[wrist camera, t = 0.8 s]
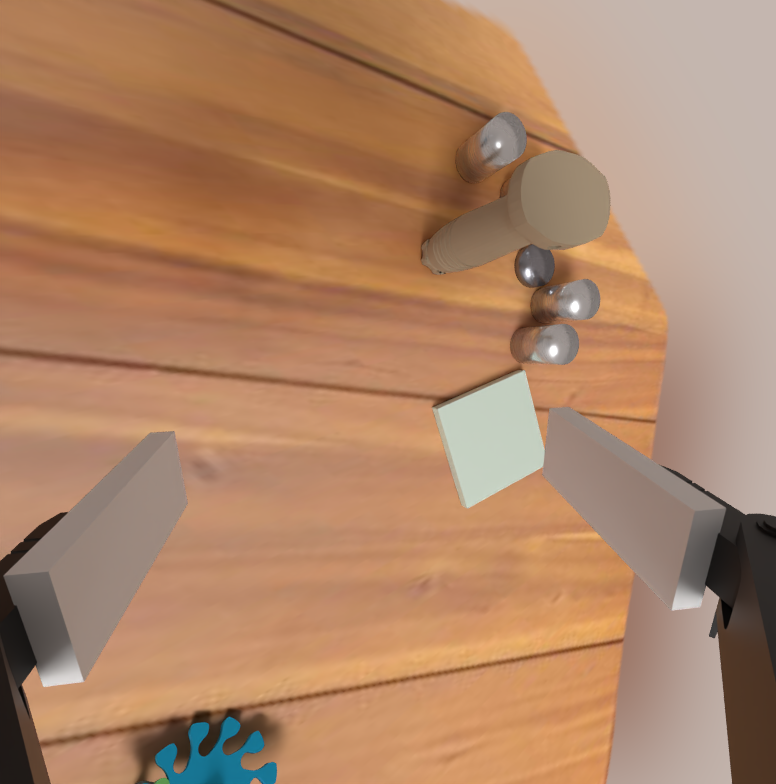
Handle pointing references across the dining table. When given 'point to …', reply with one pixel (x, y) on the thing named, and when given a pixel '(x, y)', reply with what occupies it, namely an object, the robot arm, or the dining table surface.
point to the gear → (214, 759)
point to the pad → (490, 437)
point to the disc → (534, 266)
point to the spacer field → (548, 304)
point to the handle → (527, 215)
